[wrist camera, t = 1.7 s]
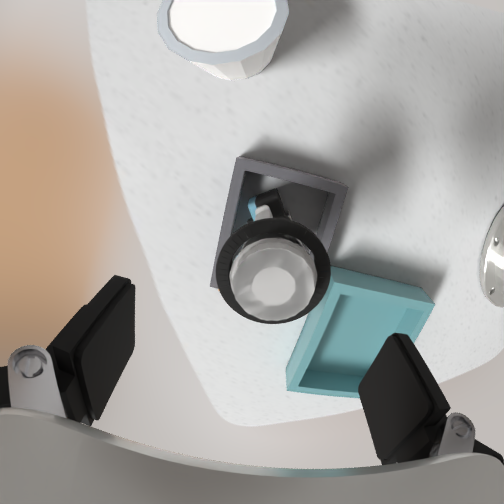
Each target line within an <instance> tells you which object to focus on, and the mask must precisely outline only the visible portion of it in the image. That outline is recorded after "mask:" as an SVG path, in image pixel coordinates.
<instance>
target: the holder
mask: <svg viewBox="0 0 504 504" xmlns="http://www.w3.org/2000/svg"><path fill="white" fill-rule="evenodd" d="M246 171H250V172H254V173H258V174H263V175H267V176H271V177H275V178H279V179H283V180H287V181H291V182H295V183H298V184H302V185H306V186H309V187H313V188H317V189H320V190H324V191H327V192H329V194H328V197H327V200H326V204H325V207H324V210H323V214H322V217H321V220H320V224H319V227H318V230H317V233H316V236H317V237H318V238H319V240H320V241H321V242H322V244H323V246H324V247H325V249H326V252H328V249H329V246H330V243H331V240H332V237H333V234H334V231H335V228H336V225H337V222H338V219H339V216H340V212H341V209H342V206H343V203H344V199H345V196H346V193H347V189H348V187H347V186H346V185H344V184H343V183H341V182H337V181H334V180H331V179H327V178H324V177H320V176H317V175H313V174H310V173H306V172H302V171H299V170H295V169H291V168H287V167H283V166H279V165H275V164H271V163H267V162H263V161H259V160H255V159H250V158H246V157H241V156H239V157H237V158H236V162H235V166H234V171H233V175H232V180H231V184H230V189H229V194H228V198H227V203H226V208H225V212H224V217H223V222H222V227H221V232H220V237H219V242H218V247H217V252H216V257H215V262H214V267H213V272H212V278H211V283H210V287H214V288H218V285H217V281H216V263H217V259H218V256H219V253H220V251H221V249H222V247H223V245H224V244H225V242H226V241H227V239H228V238H229V237H230V236H231V235H232V231H233V227H234V222H235V218H236V213H237V209H238V204H239V200H240V196H241V191H242V187H243V182H244V178H245V174H246ZM310 256H311V257H312V259H313V261H314V255H313V253H312V252H310ZM218 289H219V288H218ZM218 291H219V290H218Z"/></svg>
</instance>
